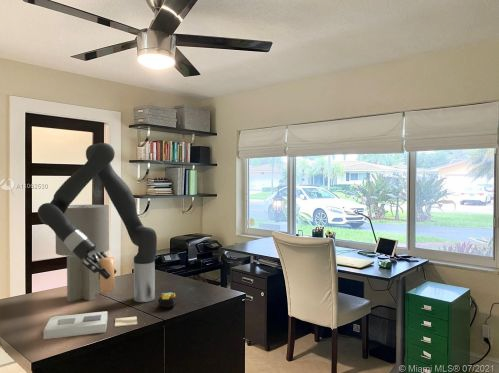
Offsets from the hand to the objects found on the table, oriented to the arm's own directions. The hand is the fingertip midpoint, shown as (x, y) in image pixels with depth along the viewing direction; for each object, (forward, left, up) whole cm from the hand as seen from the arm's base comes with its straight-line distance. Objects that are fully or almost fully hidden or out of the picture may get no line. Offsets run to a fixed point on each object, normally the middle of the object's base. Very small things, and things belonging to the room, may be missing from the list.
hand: (111, 275), depth 145 cm
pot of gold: (-16, +23, -19) cm, 34 cm away
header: (0, -12, -19) cm, 22 cm away
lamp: (-40, -14, -19) cm, 46 cm away
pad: (-1, +5, -19) cm, 19 cm away
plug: (-1, -2, -6) cm, 6 cm away
